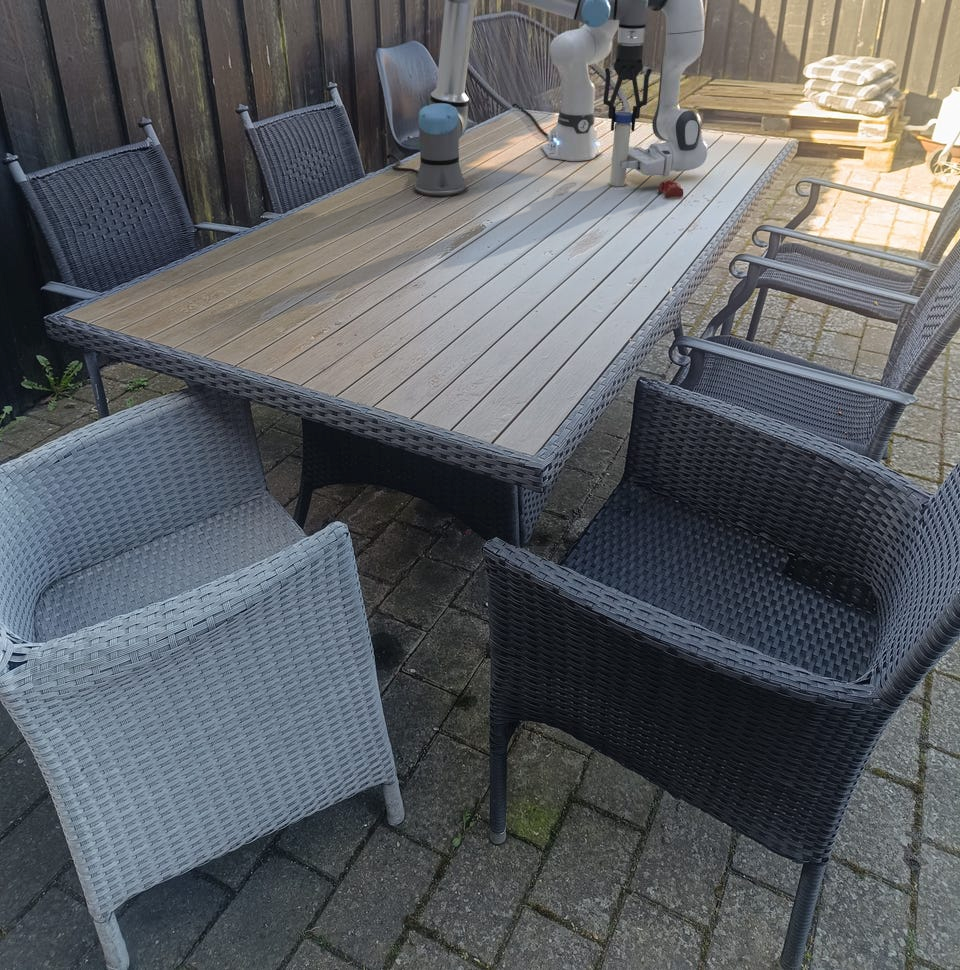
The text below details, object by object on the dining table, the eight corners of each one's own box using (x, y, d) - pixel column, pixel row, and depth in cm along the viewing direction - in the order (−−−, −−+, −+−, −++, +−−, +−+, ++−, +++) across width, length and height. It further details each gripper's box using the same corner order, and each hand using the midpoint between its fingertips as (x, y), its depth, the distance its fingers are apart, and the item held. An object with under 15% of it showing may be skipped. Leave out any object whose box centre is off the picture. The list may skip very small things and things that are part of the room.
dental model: (674, 175, 255) (686, 183, 249) (673, 189, 258) (684, 197, 251) (657, 177, 254) (668, 185, 248) (656, 192, 257) (667, 200, 250)
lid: (610, 120, 253) (610, 112, 252) (625, 118, 256) (625, 110, 254) (621, 124, 249) (621, 116, 248) (636, 122, 252) (637, 114, 250)
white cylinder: (625, 182, 265) (631, 115, 253) (624, 186, 261) (631, 118, 249) (610, 181, 265) (615, 114, 254) (609, 186, 262) (615, 118, 250)
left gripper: (598, 45, 238) (592, 132, 251) (664, 46, 237) (654, 133, 250) (597, 41, 244) (591, 126, 257) (661, 42, 243) (652, 127, 256)
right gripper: (643, 140, 269) (603, 143, 265) (674, 156, 253) (632, 160, 249) (641, 160, 272) (602, 164, 269) (671, 177, 257) (630, 181, 253)
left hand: (622, 129), depth 254 cm, fingers closed on lid, 5 cm apart
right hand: (616, 162), depth 259 cm, fingers closed on white cylinder, 5 cm apart
